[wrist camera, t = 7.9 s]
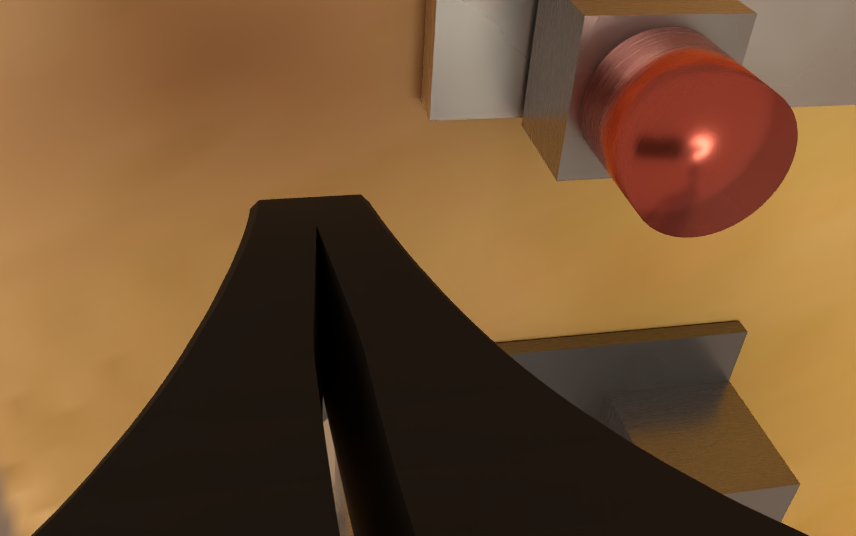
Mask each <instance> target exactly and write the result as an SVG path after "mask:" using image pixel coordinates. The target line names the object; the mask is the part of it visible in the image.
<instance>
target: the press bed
mask: <svg viewBox="0 0 856 536" xmlns="http://www.w3.org/2000/svg"><path fill="white" fill-rule="evenodd" d="M746 335H747V331H746V329H745V328H744V327H743V325H742V324H741V323H740V322H739V321H735V322H724V323H713V324H702V325H691V326H680V327H669V328H658V329H647V330H636V331H625V332H615V333H604V334H593V335H582V336H571V337H560V338H549V339H538V340H527V341H516V342H505V343H496V344H497V345H498V346H499V347H500V348H501V349H502V350H503V351H505V352H506V353H507V354H508V355H509V356H510V357H512V358H513V359H514V360H515V361H516V362H518V363H519V364H520V365H521V366H523V367H524V368H525V369H526V370H528V371H529V372H530V373H531V374H533V375H534V376H535V377H537V378H538V379H539V380H540V381H542V382H543V383H544V384H545V385H547V386H548V387H549V388H551V389H552V390H553V391H555V392H556V393H558V394H559V395H560V396H562V397H563V398H565V399H566V400H567V401H569V402H570V403H572V404H573V405H574V406H576V407H578V408H579V409H581V410H582V411H584V412H585V413H587V414H588V415H590V416H591V417H593V418H594V419H596V420H597V421H599V422H600V423H602V424H603V425H605V426H606V427H608V428H609V429H611V430H613V431H614V432H616V433H617V434H619V435H620V436H622V437H623V438H625V439H626V440H628V441H629V442H631V443H633V444H634V445H636V446H638V447H640V448H641V449H643V450H645V451H646V452H648V453H650V454H651V455H653V456H655V457H656V458H658V459H660V460H661V461H663V462H665V463H666V464H668V465H670V466H672V467H674V468H676V469H677V470H679V471H681V472H683V473H685V474H686V475H688V476H690V477H692V478H694V479H696V480H697V481H699V482H701V483H703V484H705V485H707V486H708V487H710V488H712V489H714V490H716V491H717V492H719V493H721V494H723V495H725V496H727V497H729V498H731V499H733V500H735V501H736V502H738V503H740V504H743V505H745V506H747V507H749V508H751V509H753V510H755V511H757V512H760V513H762V514H764V515H766V516H768V517H770V518H772V519H774V520H777V521H779V522H781V521H782V519H783V517H784V515H785V513H786V511H787V509H788V507H789V505H790V503H791V501H792V499H793V497H794V495H795V494H796V492H797V490H798V488H799V486H800V483H799V482H798V480H797V479H796V477H795V476H794V474H793V473H792V471H791V470H790V469H789V467H788V466H787V464H786V463H785V461H784V460H783V458H782V457H781V455H780V454H779V453H778V451H777V450H776V448H775V447H774V445H773V444H772V442H771V441H770V440H769V438H768V437H767V435H766V434H765V432H764V431H763V429H762V428H761V427H760V425H759V424H758V422H757V421H756V419H755V418H754V416H753V415H752V413H751V412H750V411H749V409H748V408H747V406H746V405H745V403H744V402H743V400H742V399H741V398H740V396H739V395H738V393H737V392H736V390H735V389H734V387H733V386H732V385H731V383H730V382H729V379H730V376H731V374H732V371H733V368H734V366H735V363H736V361H737V358H738V355H739V353H740V350H741V348H742V345H743V342H744V340H745V337H746ZM323 426H324V433H325V439H326V446H327V453H328V460H329V467H330V474H331V481H332V487H333V494H334V500H335V507H336V491H335V449H334V445H333V440H332V436H331V431H330V426H329V422H328V417H327V413H326V408H325V403H324V399H323Z"/></svg>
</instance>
